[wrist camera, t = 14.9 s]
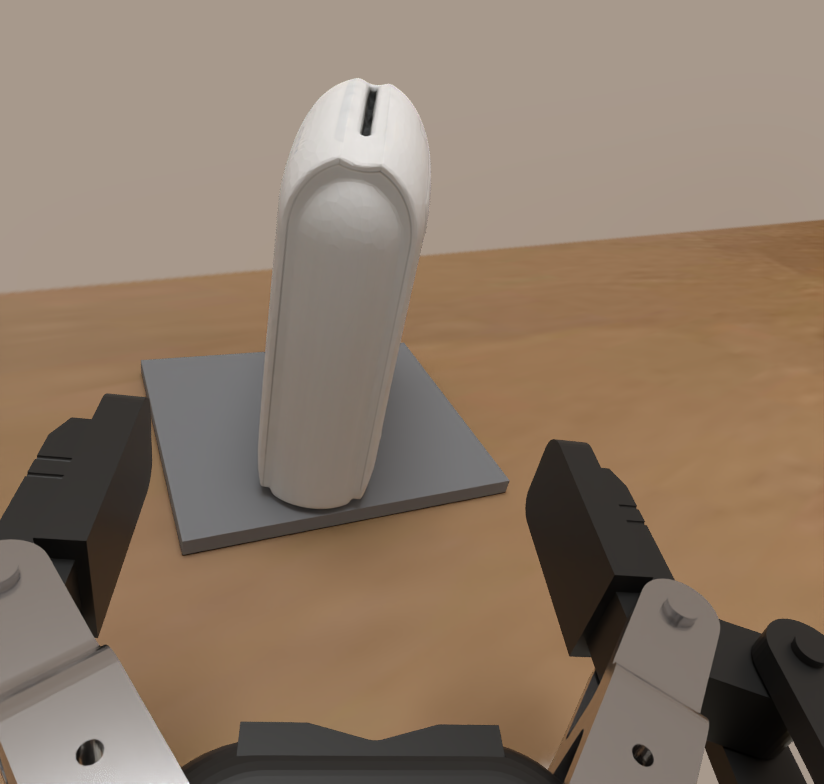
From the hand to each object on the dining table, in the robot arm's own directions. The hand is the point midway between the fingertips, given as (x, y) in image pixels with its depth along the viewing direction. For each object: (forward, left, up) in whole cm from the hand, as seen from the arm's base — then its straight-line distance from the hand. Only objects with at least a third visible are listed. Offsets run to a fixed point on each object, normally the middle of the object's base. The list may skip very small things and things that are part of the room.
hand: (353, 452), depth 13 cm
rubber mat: (+4, +10, -8) cm, 13 cm away
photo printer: (+4, +10, -8) cm, 13 cm away
